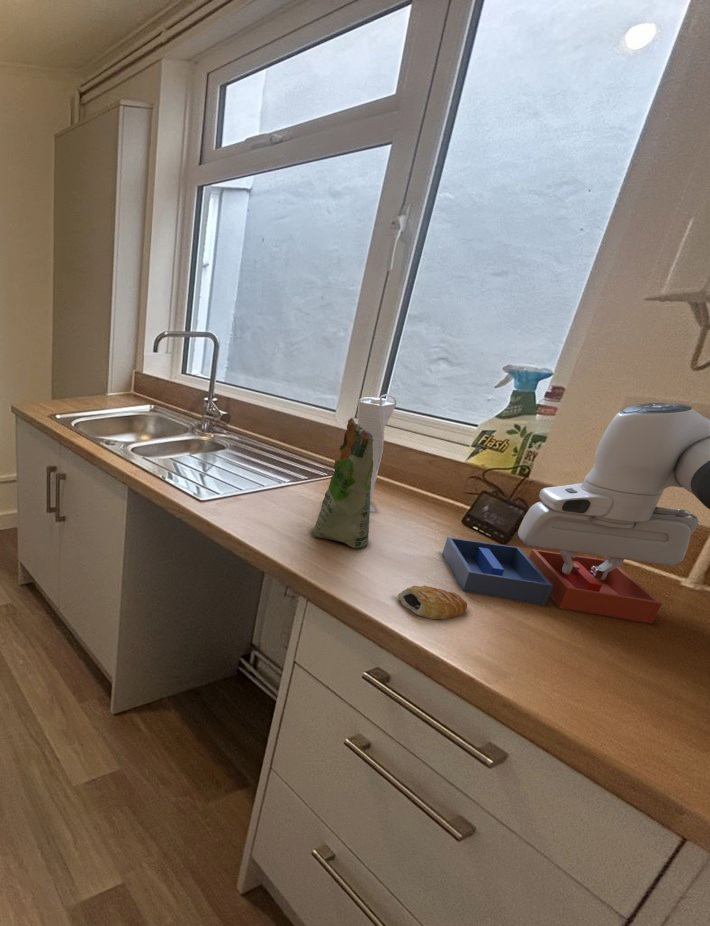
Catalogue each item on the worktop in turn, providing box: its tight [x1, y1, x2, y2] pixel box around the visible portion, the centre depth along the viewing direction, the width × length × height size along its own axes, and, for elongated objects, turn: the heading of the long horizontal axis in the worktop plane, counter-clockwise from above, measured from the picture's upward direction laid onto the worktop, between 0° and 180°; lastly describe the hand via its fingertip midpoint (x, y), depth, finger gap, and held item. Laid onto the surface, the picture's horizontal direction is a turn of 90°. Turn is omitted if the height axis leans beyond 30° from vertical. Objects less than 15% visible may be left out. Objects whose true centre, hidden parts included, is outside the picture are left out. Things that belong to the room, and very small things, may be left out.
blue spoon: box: [474, 547, 504, 576], centre depth 95 cm, size 4×13×3 cm, turn 155°
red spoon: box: [561, 561, 602, 592], centre depth 90 cm, size 4×13×3 cm, turn 155°
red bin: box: [528, 548, 663, 624], centre depth 90 cm, size 11×15×4 cm
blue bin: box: [441, 536, 553, 606], centre depth 95 cm, size 11×15×4 cm
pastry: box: [397, 584, 468, 620], centre depth 86 cm, size 9×7×4 cm
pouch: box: [312, 417, 374, 550], centre depth 107 cm, size 11×12×25 cm
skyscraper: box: [357, 393, 397, 513], centre depth 122 cm, size 8×8×28 cm
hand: (582, 575), depth 91 cm, fingers closed
